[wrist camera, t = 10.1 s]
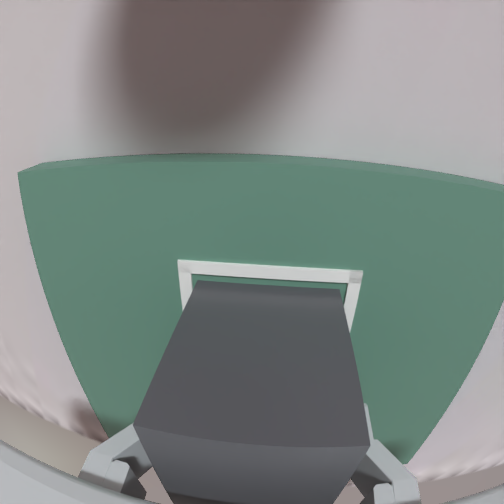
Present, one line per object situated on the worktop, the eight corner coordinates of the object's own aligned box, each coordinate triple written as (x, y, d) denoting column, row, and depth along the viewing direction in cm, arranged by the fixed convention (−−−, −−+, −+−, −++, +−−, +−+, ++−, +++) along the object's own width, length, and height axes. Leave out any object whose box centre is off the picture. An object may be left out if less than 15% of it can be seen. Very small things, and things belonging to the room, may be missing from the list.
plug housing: (339, 289, 10) (370, 445, 5) (296, 466, 15) (293, 553, 10) (197, 280, 10) (132, 425, 5) (217, 460, 15) (200, 544, 10)
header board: (511, 186, 9) (611, 249, 4) (403, 444, 16) (416, 518, 11) (41, 162, 10) (-66, 211, 5) (118, 423, 17) (89, 491, 12)
